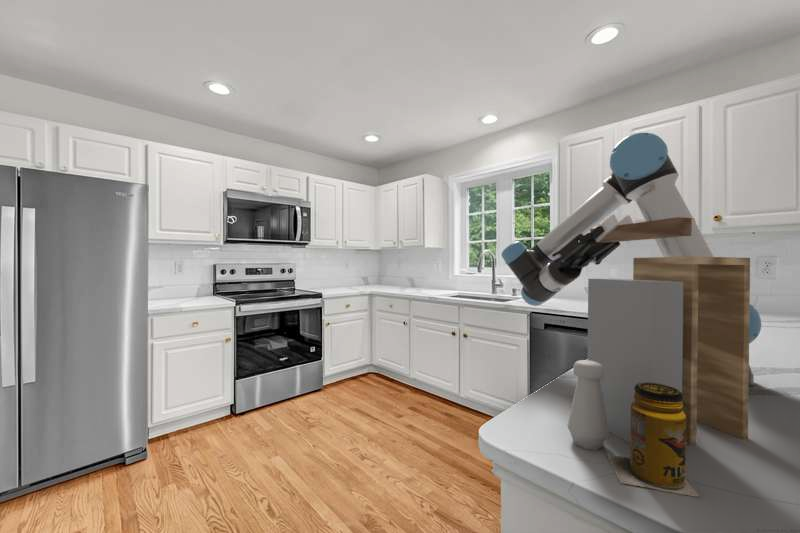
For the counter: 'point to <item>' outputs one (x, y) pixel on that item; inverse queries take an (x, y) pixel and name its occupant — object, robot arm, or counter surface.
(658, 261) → the oak shelf
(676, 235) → the walnut rail
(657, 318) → the stone block
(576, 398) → the salt shaker
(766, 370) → the counter surface
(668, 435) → the condiment
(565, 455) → the counter surface
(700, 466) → the counter surface
